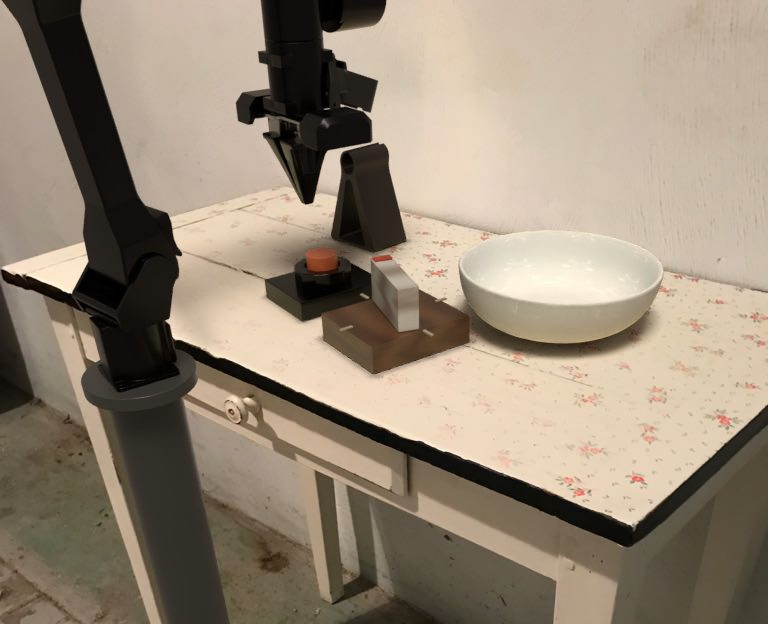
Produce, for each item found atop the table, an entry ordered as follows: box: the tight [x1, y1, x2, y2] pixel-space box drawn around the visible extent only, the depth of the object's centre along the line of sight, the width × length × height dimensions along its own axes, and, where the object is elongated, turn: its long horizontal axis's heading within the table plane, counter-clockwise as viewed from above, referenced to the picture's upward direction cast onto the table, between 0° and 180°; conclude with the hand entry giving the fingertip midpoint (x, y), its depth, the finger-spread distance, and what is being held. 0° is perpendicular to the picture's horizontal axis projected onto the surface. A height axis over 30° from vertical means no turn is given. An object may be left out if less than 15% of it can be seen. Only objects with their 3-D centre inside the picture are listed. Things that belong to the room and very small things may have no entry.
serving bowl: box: [458, 229, 665, 344], centre depth 87 cm, size 21×21×7 cm
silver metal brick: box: [370, 254, 420, 332], centre depth 84 cm, size 9×2×5 cm, turn 18°
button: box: [305, 247, 338, 271], centre depth 95 cm, size 4×4×2 cm
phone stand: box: [330, 141, 407, 253], centre depth 109 cm, size 9×6×12 cm, turn 43°
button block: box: [264, 255, 372, 322], centre depth 96 cm, size 11×9×4 cm
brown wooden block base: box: [320, 288, 471, 375], centre depth 86 cm, size 13×13×3 cm
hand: (307, 203), depth 89 cm, fingers closed
